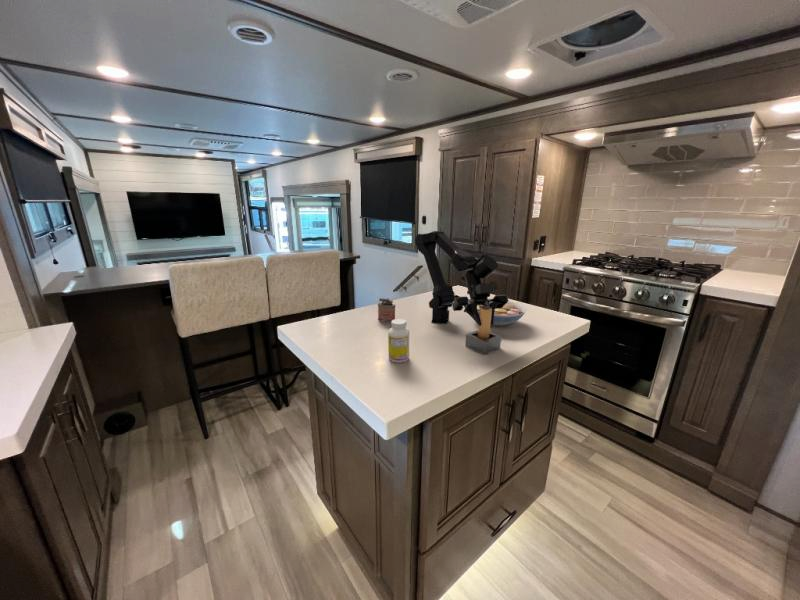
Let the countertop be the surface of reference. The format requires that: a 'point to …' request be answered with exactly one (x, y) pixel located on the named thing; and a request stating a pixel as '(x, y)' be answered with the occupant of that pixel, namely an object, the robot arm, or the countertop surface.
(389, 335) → the supplement bottle
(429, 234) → the robot arm
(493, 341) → the grey square open block
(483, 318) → the plug
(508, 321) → the ramen bowl
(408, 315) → the countertop surface
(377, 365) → the countertop surface
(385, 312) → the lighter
